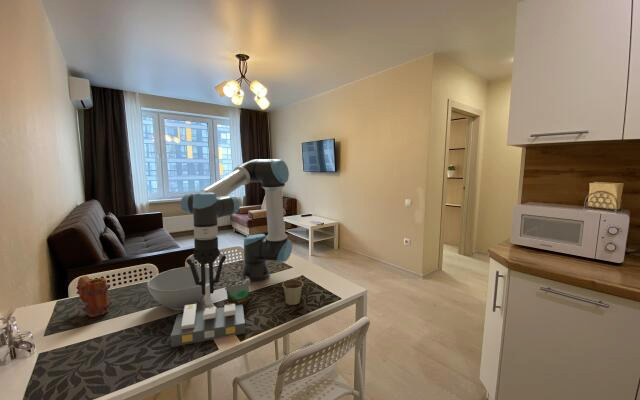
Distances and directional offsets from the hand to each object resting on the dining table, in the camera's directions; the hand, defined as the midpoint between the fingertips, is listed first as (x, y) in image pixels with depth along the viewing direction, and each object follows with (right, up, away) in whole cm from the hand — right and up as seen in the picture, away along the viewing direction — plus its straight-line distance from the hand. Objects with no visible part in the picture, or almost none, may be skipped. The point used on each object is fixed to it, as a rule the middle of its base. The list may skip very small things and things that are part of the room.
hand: (208, 302), depth 95 cm
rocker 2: (-1, -6, +5) cm, 8 cm away
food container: (+5, -10, +25) cm, 27 cm away
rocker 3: (+5, -6, +7) cm, 10 cm away
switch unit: (-1, -12, +6) cm, 13 cm away
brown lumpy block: (-54, -10, +16) cm, 57 cm away
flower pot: (+27, -10, +26) cm, 39 cm away
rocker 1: (-8, -6, +3) cm, 10 cm away
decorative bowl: (-21, -10, +24) cm, 33 cm away
